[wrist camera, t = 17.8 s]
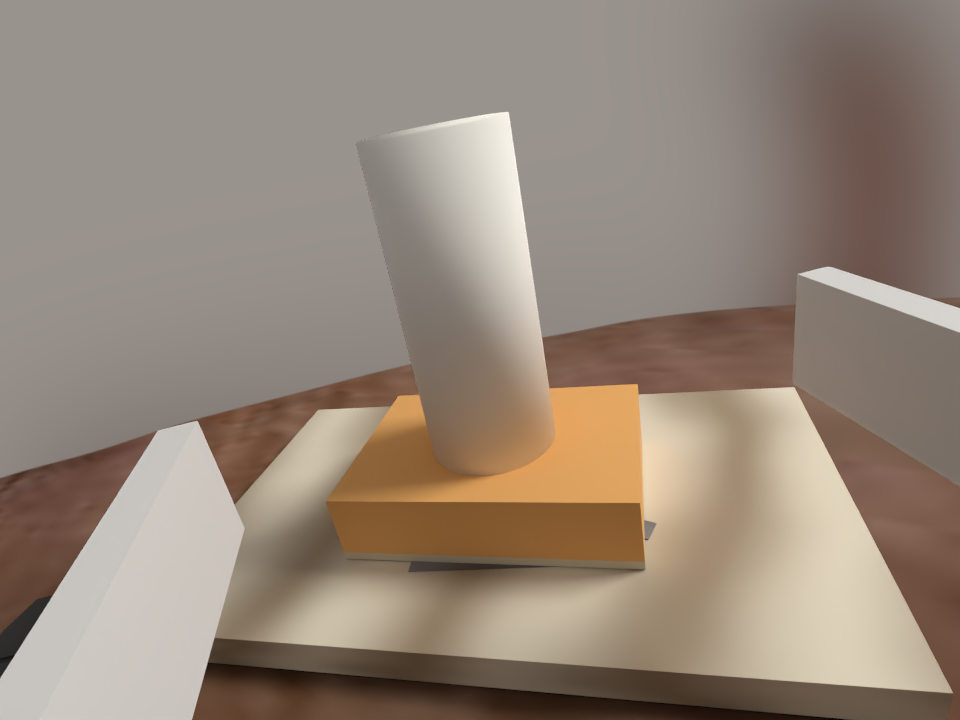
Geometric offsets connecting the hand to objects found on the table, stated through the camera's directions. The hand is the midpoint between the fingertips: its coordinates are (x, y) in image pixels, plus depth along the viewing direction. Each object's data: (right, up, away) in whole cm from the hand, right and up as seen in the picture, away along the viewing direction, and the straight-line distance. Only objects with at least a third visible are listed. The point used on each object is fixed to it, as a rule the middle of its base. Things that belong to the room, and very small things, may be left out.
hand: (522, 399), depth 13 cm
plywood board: (0, -5, +10) cm, 11 cm away
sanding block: (0, -4, +9) cm, 10 cm away
